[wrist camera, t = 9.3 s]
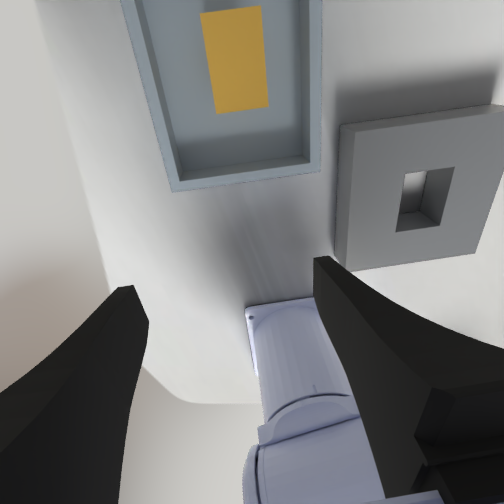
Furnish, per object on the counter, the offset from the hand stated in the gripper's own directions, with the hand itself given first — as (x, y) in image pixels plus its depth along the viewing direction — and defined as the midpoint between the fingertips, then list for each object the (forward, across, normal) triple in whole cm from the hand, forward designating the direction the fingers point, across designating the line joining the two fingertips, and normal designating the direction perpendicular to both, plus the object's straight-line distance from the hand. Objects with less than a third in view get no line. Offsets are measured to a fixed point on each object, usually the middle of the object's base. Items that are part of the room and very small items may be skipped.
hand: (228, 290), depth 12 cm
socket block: (+10, -13, +2) cm, 17 cm away
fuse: (+10, -2, -8) cm, 13 cm away
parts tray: (+10, -2, -8) cm, 13 cm away
